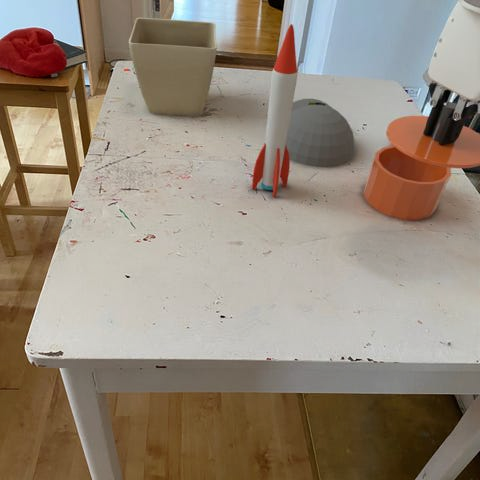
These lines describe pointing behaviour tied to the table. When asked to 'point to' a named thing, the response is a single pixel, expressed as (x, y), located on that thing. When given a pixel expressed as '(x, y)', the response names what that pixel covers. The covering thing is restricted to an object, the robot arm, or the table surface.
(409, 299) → the table surface
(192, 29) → the flower pot
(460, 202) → the table surface
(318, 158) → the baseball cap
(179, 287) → the table surface
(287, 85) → the toy rocket
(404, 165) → the pot
